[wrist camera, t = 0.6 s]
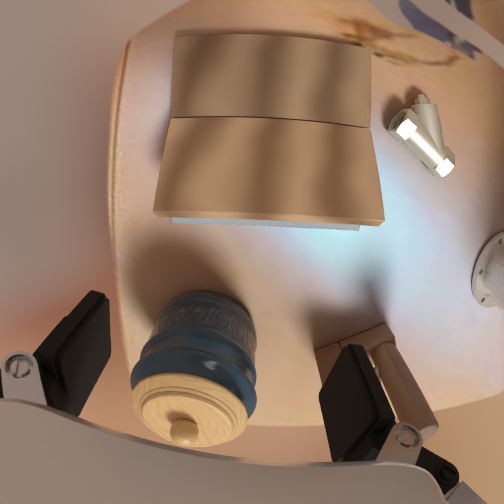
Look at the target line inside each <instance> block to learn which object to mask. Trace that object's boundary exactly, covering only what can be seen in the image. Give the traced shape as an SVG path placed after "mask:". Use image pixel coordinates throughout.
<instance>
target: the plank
mask: <svg viewBox="0 0 504 504" xmlns="http://www.w3.org/2000/svg"><path fill="white" fill-rule="evenodd" d="M153 211H154V213H155V214H156V215H157V217H175V218H221V219H252V220H278V221H299V222H319V223H336V224H353V225H368V226H379V225H380V224H381V223H382V222H384V221H385V217H384V209H383V201H382V194H381V187H380V180H379V174H378V168H377V162H376V156H375V151H374V146H373V141H372V136H371V131H370V129H366V128H360V127H353V126H346V125H338V124H330V123H321V122H311V121H300V120H286V119H270V118H243V117H201V118H174V119H171V120H170V124H169V129H168V133H167V138H166V142H165V147H164V152H163V157H162V162H161V167H160V172H159V178H158V184H157V189H156V195H155V201H154V208H153Z"/></svg>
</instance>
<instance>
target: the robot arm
mask: <svg viewBox="0 0 504 504" xmlns="http://www.w3.org/2000/svg"><path fill="white" fill-rule="evenodd" d="M472 292H473V295H474V298H475V299H476V301H477V302H478V303H479V304H480V305H482V306H484V307H494V306H497V307H498V308H499V309H501V310H502V311H503V312H504V231H503V232H501V233H498V234H497V235H495V236H494V237H493V238H492V239H491V240H490V241H489V242H488V243H487V245H486V246H485V247H484V249H483V250H482V252H481V254H480V256H479V258H478V260H477V263H476V266H475V269H474V273H473V278H472ZM110 355H111V339H110V312H109V299H108V298H106V296H105V294H104V293H100V292H97V291H93V290H91V291H90V292H89V293H88V294H87V295H86V296H85V297H84V298H83V299H82V300H81V302H80V303H79V304H78V305H77V306H76V307H75V308H74V309H73V310H72V311H71V313H70V314H69V315H68V316H66V317H64V318H63V319H62V320H61V321H60V323H59V324H58V325H57V326H56V327H55V328H54V329H53V331H52V332H51V333H50V334H49V335H48V336H47V338H46V339H45V340H44V341H43V342H42V344H41V345H40V346H39V347H38V348H37V350H36V351H35V352H34V353H33V355H31V354H29V353H27V352H23V351H17V352H13V353H10V354H9V355H7V356H6V357H5V358H4V359H3V361H2V363H1V369H0V504H487V503H486V502H485V501H484V500H483V499H481V497H479V496H478V495H477V494H476V493H475V492H474V491H473V490H472V489H471V488H470V487H469V486H468V485H467V484H466V483H465V482H464V481H462V482H461V483H460V482H459V472H458V470H457V469H456V467H455V466H454V465H453V464H452V463H450V462H448V461H447V460H445V459H443V458H441V457H439V456H438V455H436V454H434V453H433V452H430V451H429V450H427V449H426V448H424V447H422V443H423V437H422V434H421V433H420V431H419V430H418V429H417V428H416V427H415V426H413V425H412V424H409V423H405V422H401V423H397V424H396V422H395V415H394V413H393V411H392V408H391V406H390V404H389V401H388V399H387V397H386V395H385V392H384V390H383V388H382V386H381V383H380V381H379V379H378V377H377V375H376V372H375V370H374V368H373V366H372V364H371V362H370V359H369V357H368V355H367V353H366V351H365V349H364V347H363V345H358V344H348V345H347V346H346V347H343V348H342V350H341V352H340V354H339V356H338V358H337V360H336V362H335V364H334V366H333V367H332V369H331V371H330V373H329V375H328V377H327V379H326V381H325V383H324V384H323V386H322V388H321V390H320V392H319V402H320V406H321V411H322V415H323V420H324V425H325V429H326V434H327V439H328V443H329V448H330V453H331V458H332V461H333V462H288V461H287V462H285V461H271V460H258V459H248V458H240V457H232V456H224V455H218V454H211V453H205V452H200V451H195V450H189V449H185V448H180V447H175V446H171V445H166V444H162V443H158V442H154V441H150V440H147V439H143V438H139V437H136V436H132V435H129V434H126V433H122V432H119V431H116V430H113V429H110V428H107V427H104V426H101V425H98V424H95V423H92V422H90V421H87V420H84V419H81V418H79V417H78V416H79V415H80V413H81V411H82V409H83V407H84V405H85V403H86V401H87V399H88V397H89V395H90V393H91V391H92V390H93V388H94V385H95V384H96V382H97V380H98V378H99V377H100V375H101V373H102V371H103V369H104V367H105V366H106V364H107V362H108V360H109V358H110Z"/></svg>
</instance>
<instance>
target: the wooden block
mask: <svg viewBox="0 0 504 504" xmlns="http://www.w3.org/2000/svg"><path fill="white" fill-rule="evenodd" d="M348 344H358V345H363V347H364V349H365V351H366V353H367V355H368V357H369V359H370V362H371V364H372V365H375V367H374V370H375V372H376V375H377V377H378V379H379V381H380V383H381V380H382V382H383V384H384V387H385V389H386V391H387V393H388V396H389V398H390V400H391V403H392V405H393V407H394V410H395V412H396V414H397V417H398V419H399V421H400V423H401V422H405V423H409V424H412V425H413V426H415V427H416V428H417V429H418V430H419V431H420V433H421V434H422V437H423V442H424V441H426V440H428V439H429V438H430V437H432V436H433V435H434V434H435V433H436V432H437V430H438V427H439V425H438V422H437V420H436V418H435V416H434V414H433V412H432V410H431V408H430V407H429V405H428V403H427V401H426V399H425V397H424V395H423V393H422V392H421V390H420V388H419V386H418V384H417V382H416V381H415V379H414V377H413V375H412V373H411V372H410V370H409V368H408V366H407V365H406V363H405V361H404V359H403V358H402V356H401V354H400V353H399V351H398V349H397V347H396V342H395V336H394V335H393V333H392V332H391V330H390V328H389V327H388V325H387V324H386V323H383V324H381V325H379V326H376V327H374V328H372V329H369V330H367V331H364V332H362V333H359V334H357V335H354V336H352V337H349V338H347V339H344V340H342V341H340V342H339V343H337V342H336V343H333V344H331V345H328V346H325V347H322V348H320V349H317V350H315V352H314V353H315V357H316V362H317V366H318V370H319V374H320V378H321V382H322V386H323V384H324V383H325V381H326V379H327V377H328V375H329V373H330V371H331V369H332V367H333V366H334V364H335V362H336V360H337V358H338V356H339V354H340V352H341V350H342V348H343V347H346V346H347V345H348ZM380 378H381V380H380Z"/></svg>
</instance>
